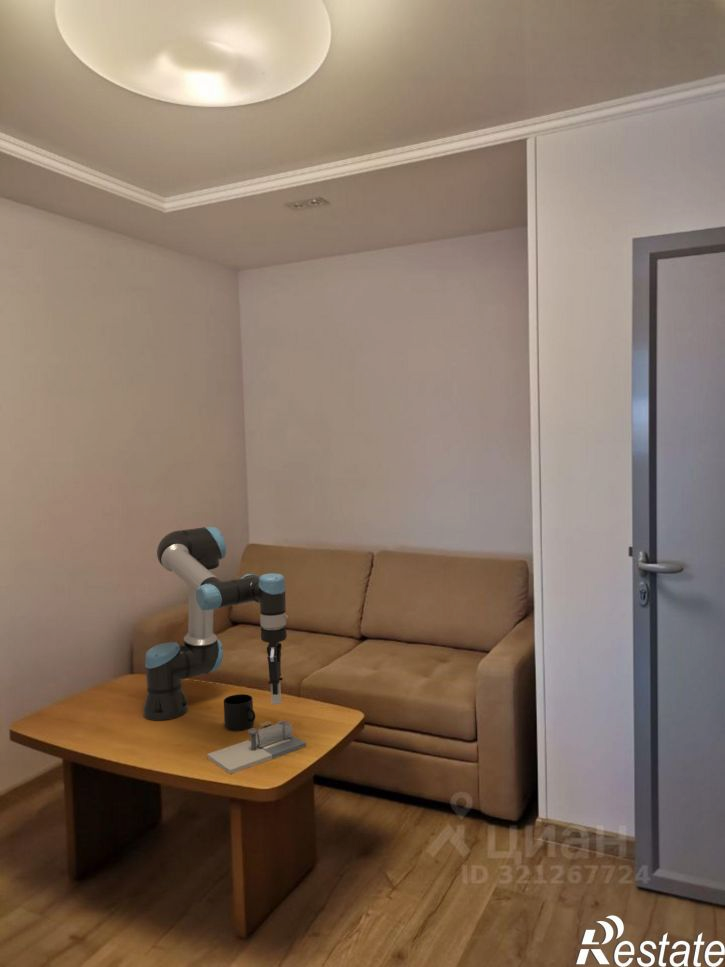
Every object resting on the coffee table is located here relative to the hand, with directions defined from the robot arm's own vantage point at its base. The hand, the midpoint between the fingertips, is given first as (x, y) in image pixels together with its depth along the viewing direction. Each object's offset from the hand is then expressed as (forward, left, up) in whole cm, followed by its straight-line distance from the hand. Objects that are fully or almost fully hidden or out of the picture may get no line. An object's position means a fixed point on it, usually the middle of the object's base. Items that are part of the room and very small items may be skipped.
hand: (276, 703), depth 219 cm
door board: (-5, -5, -15) cm, 17 cm away
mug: (-25, +2, -16) cm, 30 cm away
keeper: (-8, +1, -14) cm, 17 cm away
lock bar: (-5, +1, -14) cm, 15 cm away
